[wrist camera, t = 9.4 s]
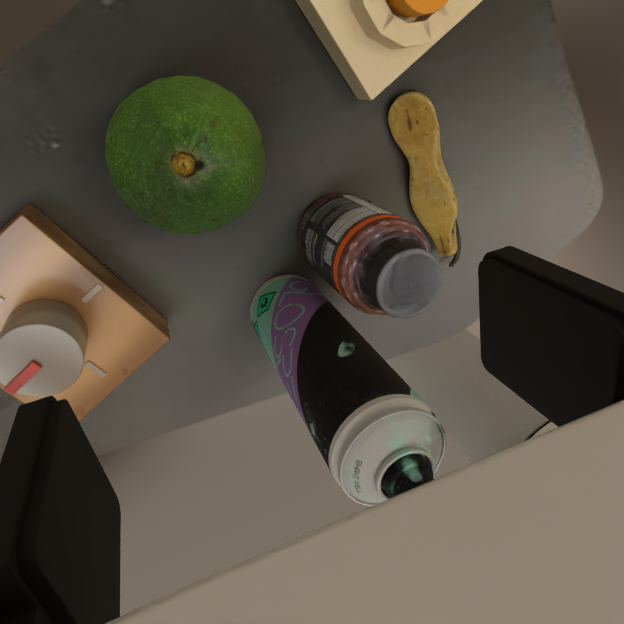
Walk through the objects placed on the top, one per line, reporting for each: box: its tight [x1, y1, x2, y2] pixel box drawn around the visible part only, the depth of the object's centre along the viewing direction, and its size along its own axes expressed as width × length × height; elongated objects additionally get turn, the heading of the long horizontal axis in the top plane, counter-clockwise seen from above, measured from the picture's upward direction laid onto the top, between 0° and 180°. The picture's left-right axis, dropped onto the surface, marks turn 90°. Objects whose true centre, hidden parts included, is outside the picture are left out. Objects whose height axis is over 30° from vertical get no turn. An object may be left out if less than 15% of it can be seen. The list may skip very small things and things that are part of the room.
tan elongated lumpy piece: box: [388, 89, 461, 267], centre depth 37 cm, size 3×14×3 cm
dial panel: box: [0, 204, 170, 421], centre depth 31 cm, size 11×9×3 cm
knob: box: [0, 300, 88, 397], centre depth 28 cm, size 4×4×4 cm
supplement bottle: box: [298, 194, 442, 318], centre depth 32 cm, size 6×6×11 cm
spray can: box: [250, 274, 446, 506], centre depth 29 cm, size 6×6×20 cm
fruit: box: [105, 76, 266, 234], centre depth 26 cm, size 8×8×12 cm
